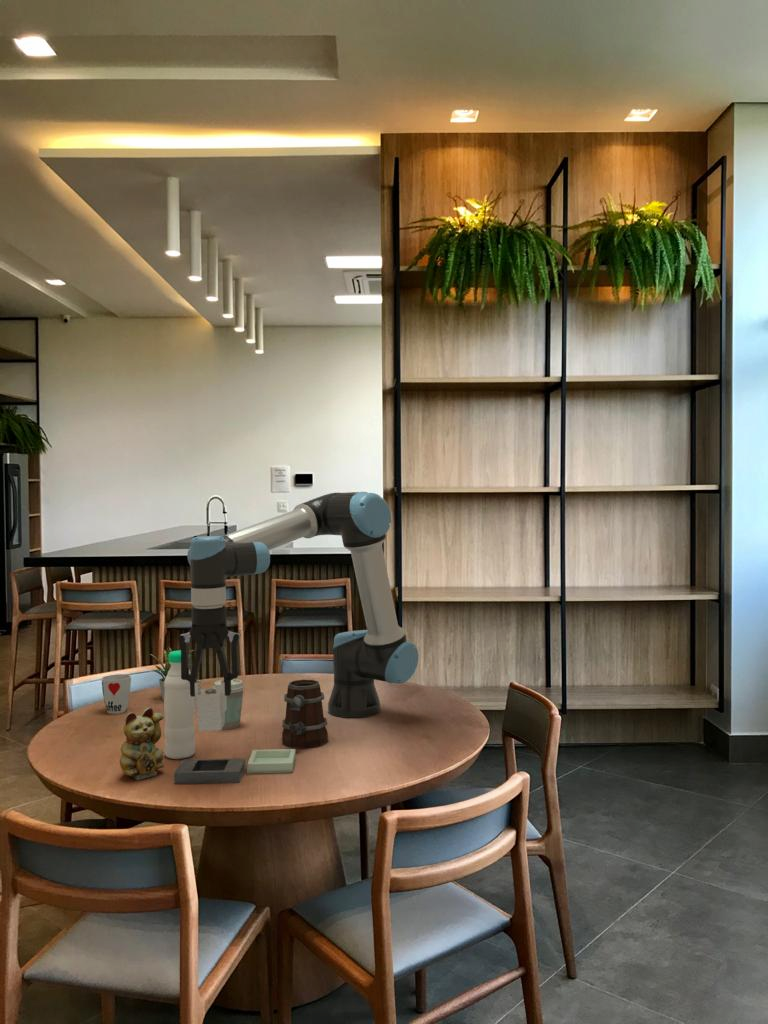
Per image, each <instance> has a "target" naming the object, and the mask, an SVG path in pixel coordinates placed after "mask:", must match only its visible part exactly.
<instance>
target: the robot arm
mask: <svg viewBox="0 0 768 1024" xmlns="http://www.w3.org/2000/svg"><path fill="white" fill-rule="evenodd" d="M391 522H392V513H391V509H390V507H389V504H388V502H387V501H386V500H385V499H384V498H383V497H382V496H381V495H379V494H378V493H375V492H367V491H354V492H353V491H351V492H350V491H349V492H348V491H347V492H330V493H326V494H324V495H321V496H318V497H315V498H312V499H310V500H307V501H305V502H302V503H300V504H299V503H298V504H297V505H295V506H294V507H293V509H292V510H291V511H289V512H286V513H283V514H280V515H277V516H274V517H271V518H270V519H269V518H268V519H266V520H264V521H261V522H258V523H256V524H253V525H249V526H247V527H244V528H242V529H237V530H235V531H233V532H230V533H228V534H224V535H222V536H221V535H208V536H207V535H201V536H196V537H193V538H192V539H191V540H190V547H188V550H187V562H188V564H189V565H190V585H191V586H190V597H191V600H190V603H191V606H193V607H192V608H191V628H190V630H189V632H185V633H181V634H180V635H178V637H177V640H178V642H179V645H180V650H181V679H182V680H187V681H189V682H190V695H191V697H194V713H198V708H197V694H198V693H199V692H200V690H201V689H202V688H201V685H202V683H201V680H200V679H198V677H199V676H198V675H199V671H200V667H201V663H202V658H203V654H204V651H205V650H206V649H214V650H215V654H216V656H217V659H218V662H219V667H220V671H221V673H222V674H221V675H222V677H223V678H222V679H221V680H222V681H221V712H225V711H226V709H227V696H229V695H230V693H231V680H232V679H238V676H239V675H240V662H239V661H240V660H239V655H240V654H239V641H240V639H241V633H240V632H234V631H230V629H229V628H228V625H227V623H228V622H227V607H226V606H225V605H226V603H227V591H226V589H227V588H226V587H227V584H226V583H227V582H226V581H227V580H226V579H227V578H230V577H239V576H249V575H251V576H255V575H258V574H262V573H265V572H266V571H267V569H268V568H269V567H270V564H271V553H270V551H271V550H273V549H276V548H278V547H281V546H284V545H287V544H288V543H291V542H292V543H293V542H294V541H297V540H298V539H302V538H305V539H312V538H315V537H319V536H341V538H342V539H341V541H342V544H343V545H342V546H343V548H345V549H346V550H348V551H349V552H350V554H351V559H352V565H353V568H354V569H353V570H354V574H355V579H356V583H357V588H358V592H359V599H360V602H361V607H362V611H363V612H362V613H363V616H364V617H363V618H364V621H365V627H366V629H360V630H359V629H358V630H351V631H344V632H339V633H337V634H335V635H334V637H333V647H332V650H333V651H332V653H333V655H332V656H333V657H332V658H333V686H332V689H331V694H330V697H329V699H328V703H327V712H328V713H329V714H330V715H331V716H332V715H333V716H336V717H340V718H366V717H370V716H375V715H377V714H379V713H380V712H381V701H380V698H379V694H378V692H377V688H376V685H375V680H376V681H380V682H381V681H382V682H384V683H385V682H386V683H387V684H399V685H402V684H405V683H406V682H408V681H409V680H411V678H412V677H413V676H414V674H415V672H416V669H417V667H418V664H419V650H418V648H417V646H416V645H415V644H414V643H413V642H411V641H408V640H407V635H406V631H405V629H404V628H403V627H401V626H400V625H399V624H398V619H397V614H396V613H397V612H396V608H395V604H394V603H395V602H394V598H393V593H392V590H391V585H390V584H391V583H390V578H389V574H388V568H387V564H386V557H385V553H384V549H383V544H384V542H385V541H386V539H387V535H386V534H387V532H388V531H389V529H390V527H391V525H390V524H391ZM227 637H228V640H229V642H230V643H231V644H230V649H231V650H230V652H231V653H230V655H231V656H230V657H231V670H230V667H229V664H228V660H227V657H226V653H225V650H224V644H223V642H224V641H225V640H226V638H227ZM191 639H192V640H193V641H194V642H195V644H196V645H197V646H196V649H195V655H194V659H193V662H192V667H191V670H190V668H189V667H190V652H189V651H190V649H189V648H190V646H189V643H190V641H191ZM189 670H190V673H191V674H189ZM230 671H231V672H230Z"/></svg>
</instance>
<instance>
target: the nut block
mask: <svg viewBox="0 0 768 1024" xmlns="http://www.w3.org/2000/svg"><path fill="white" fill-rule="evenodd" d="M197 708H198V712H197V732H209V731H214V732H215V731H216V732H217V731H222V730H223V729H222V728H223V726H224V724H225V716H224V712H221V689H213V688H201V690H200V692H199V693H198V694H197Z"/></svg>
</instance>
